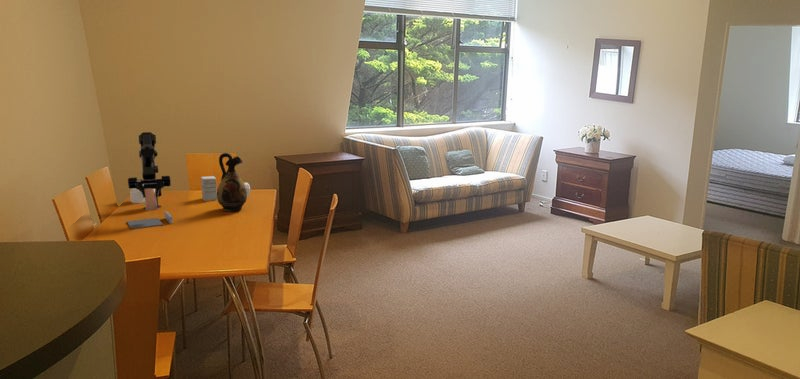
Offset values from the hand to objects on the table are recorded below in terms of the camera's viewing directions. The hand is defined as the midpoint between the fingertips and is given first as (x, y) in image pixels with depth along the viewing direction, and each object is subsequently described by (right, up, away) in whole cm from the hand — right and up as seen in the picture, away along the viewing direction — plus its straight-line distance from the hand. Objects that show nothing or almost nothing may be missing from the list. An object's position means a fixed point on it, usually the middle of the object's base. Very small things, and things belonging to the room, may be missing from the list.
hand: (150, 196), depth 281 cm
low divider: (+5, -12, +9) cm, 16 cm away
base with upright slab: (-26, -3, +48) cm, 55 cm away
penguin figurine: (+26, -2, +60) cm, 65 cm away
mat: (-4, -13, +3) cm, 14 cm away
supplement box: (+10, -2, +55) cm, 56 cm away
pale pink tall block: (-1, -6, +3) cm, 7 cm away
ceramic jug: (+29, -7, +33) cm, 44 cm away
